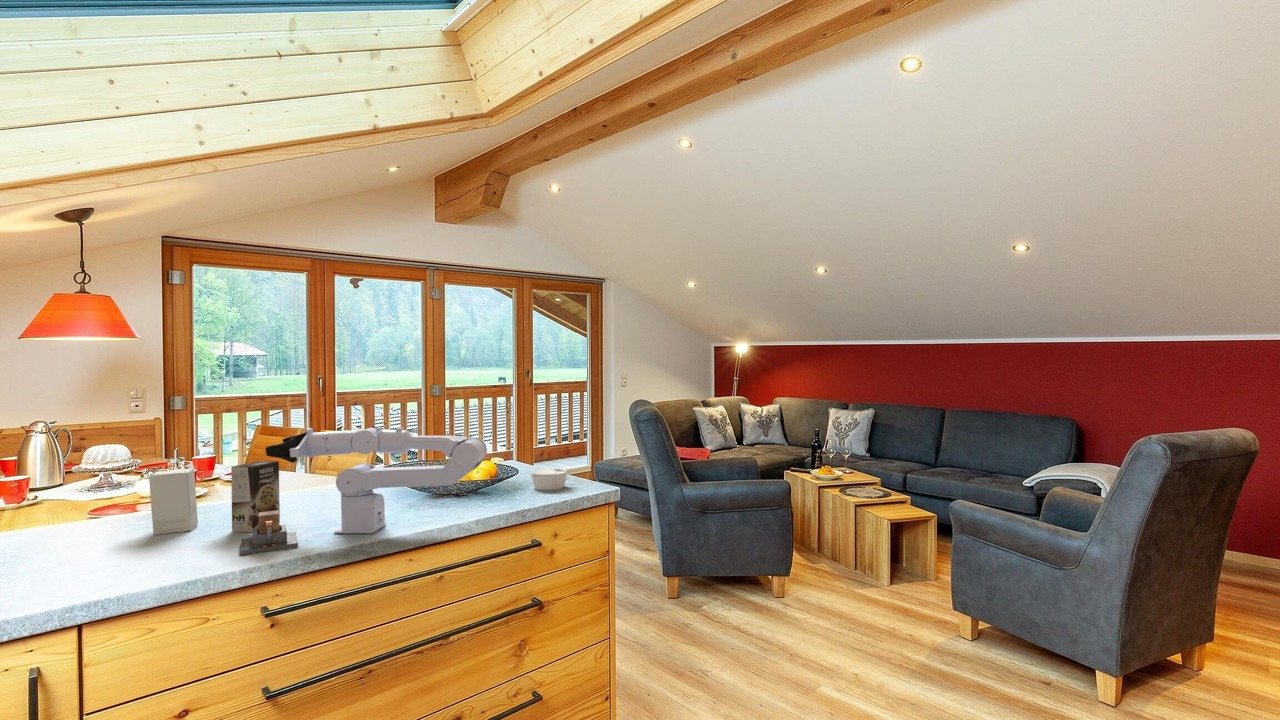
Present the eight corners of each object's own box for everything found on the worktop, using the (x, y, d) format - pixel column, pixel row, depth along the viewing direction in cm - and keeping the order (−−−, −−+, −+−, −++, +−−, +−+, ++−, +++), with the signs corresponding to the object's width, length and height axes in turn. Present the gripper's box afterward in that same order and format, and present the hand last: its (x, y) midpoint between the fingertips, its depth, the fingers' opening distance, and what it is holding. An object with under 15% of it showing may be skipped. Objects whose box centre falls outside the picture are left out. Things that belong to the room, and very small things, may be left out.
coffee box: (253, 532, 158) (252, 466, 158) (230, 531, 159) (229, 466, 159) (281, 523, 167) (280, 460, 167) (259, 522, 168) (258, 459, 168)
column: (279, 536, 150) (279, 510, 150) (280, 541, 146) (279, 513, 146) (259, 539, 148) (258, 512, 148) (259, 544, 144) (258, 516, 144)
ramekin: (574, 487, 207) (574, 470, 206) (546, 493, 198) (546, 476, 198) (552, 482, 214) (551, 467, 214) (524, 488, 206) (524, 471, 206)
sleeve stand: (296, 535, 155) (295, 508, 155) (298, 547, 145) (297, 518, 145) (241, 543, 149) (241, 515, 149) (240, 555, 140) (239, 525, 140)
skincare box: (198, 525, 165) (196, 467, 165) (190, 531, 160) (189, 471, 159) (158, 529, 162) (157, 470, 162) (150, 535, 157) (148, 474, 156)
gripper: (341, 420, 166) (288, 424, 166) (314, 434, 151) (256, 438, 151) (345, 447, 167) (292, 451, 167) (318, 464, 152) (260, 468, 152)
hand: (275, 447), depth 159 cm, fingers open, 7 cm apart
